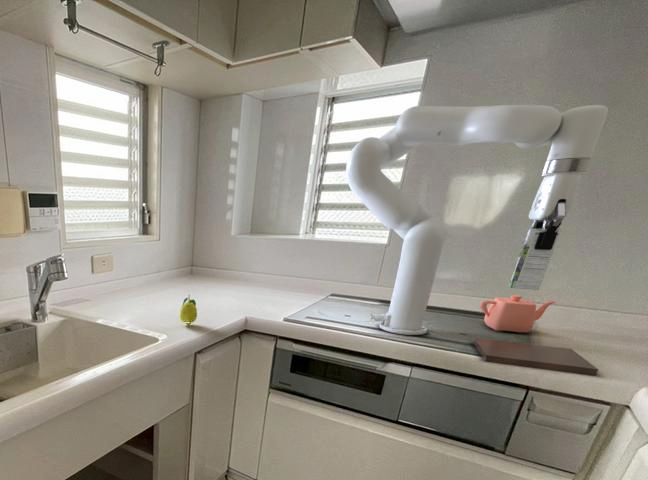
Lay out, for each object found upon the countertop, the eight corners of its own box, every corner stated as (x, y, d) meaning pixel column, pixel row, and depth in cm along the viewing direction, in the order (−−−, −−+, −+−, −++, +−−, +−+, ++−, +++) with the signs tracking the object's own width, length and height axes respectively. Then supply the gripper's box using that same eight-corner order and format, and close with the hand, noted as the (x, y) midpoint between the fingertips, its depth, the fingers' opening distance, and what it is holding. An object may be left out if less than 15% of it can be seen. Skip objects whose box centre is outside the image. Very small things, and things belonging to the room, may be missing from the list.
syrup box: (508, 285, 109) (527, 228, 103) (537, 287, 105) (558, 228, 100) (509, 288, 105) (529, 229, 99) (540, 290, 101) (562, 229, 96)
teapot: (468, 321, 133) (478, 290, 129) (537, 327, 126) (550, 294, 122) (478, 330, 123) (489, 296, 119) (554, 337, 116) (568, 302, 112)
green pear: (181, 328, 127) (182, 297, 123) (175, 323, 132) (176, 293, 128) (201, 326, 129) (202, 295, 125) (194, 322, 134) (195, 292, 130)
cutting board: (484, 360, 99) (486, 355, 99) (473, 343, 112) (474, 337, 112) (595, 375, 90) (598, 369, 90) (569, 354, 103) (571, 348, 103)
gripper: (531, 172, 103) (508, 245, 110) (558, 166, 89) (529, 251, 96) (570, 170, 100) (544, 246, 107) (604, 164, 86) (571, 252, 92)
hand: (537, 247), depth 101 cm, fingers closed on syrup box, 6 cm apart
